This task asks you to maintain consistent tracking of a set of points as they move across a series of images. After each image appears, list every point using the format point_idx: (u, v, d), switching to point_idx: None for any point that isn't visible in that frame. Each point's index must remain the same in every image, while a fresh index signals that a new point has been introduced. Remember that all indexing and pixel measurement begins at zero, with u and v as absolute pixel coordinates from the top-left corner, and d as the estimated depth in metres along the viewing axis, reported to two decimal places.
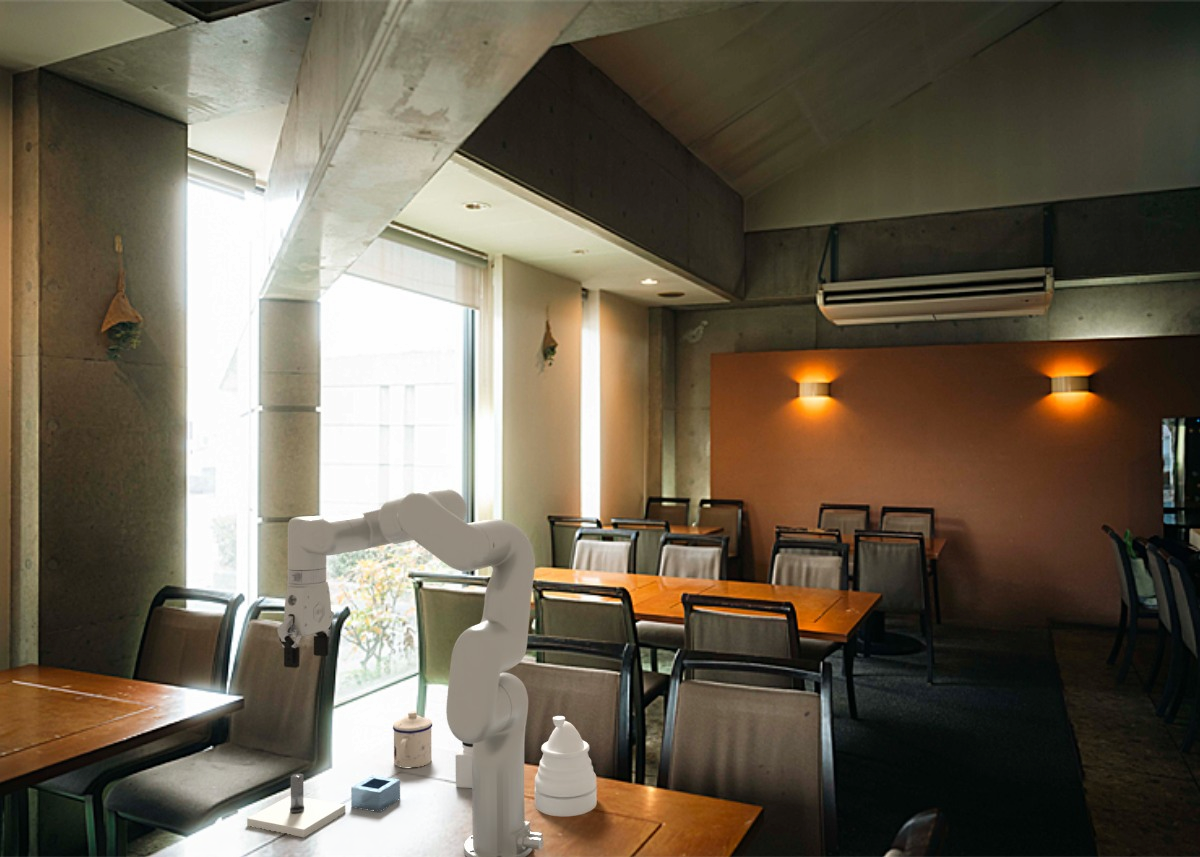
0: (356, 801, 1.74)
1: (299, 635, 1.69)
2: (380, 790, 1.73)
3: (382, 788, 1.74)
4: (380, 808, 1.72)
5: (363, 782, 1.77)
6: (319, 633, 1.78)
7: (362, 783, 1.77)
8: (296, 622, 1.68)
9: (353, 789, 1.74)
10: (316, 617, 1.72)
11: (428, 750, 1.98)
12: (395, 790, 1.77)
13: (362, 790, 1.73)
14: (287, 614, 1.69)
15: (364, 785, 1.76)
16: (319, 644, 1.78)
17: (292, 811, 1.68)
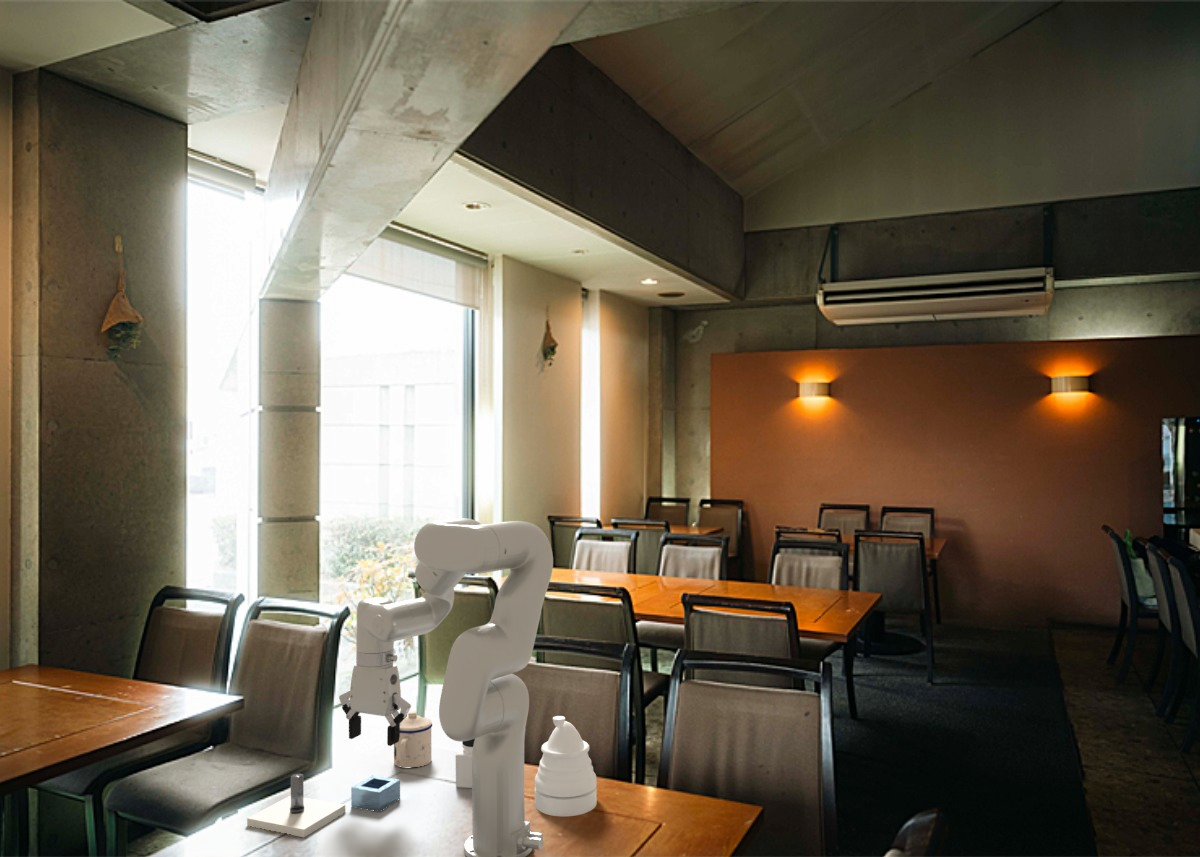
0: (356, 801, 1.74)
1: None
2: (380, 790, 1.73)
3: (382, 788, 1.74)
4: (380, 808, 1.72)
5: (363, 782, 1.77)
6: (354, 715, 1.79)
7: (362, 783, 1.77)
8: None
9: (353, 789, 1.74)
10: None
11: (428, 750, 1.98)
12: (395, 790, 1.77)
13: (362, 790, 1.73)
14: (391, 694, 1.74)
15: (364, 785, 1.76)
16: (356, 725, 1.79)
17: (292, 811, 1.68)
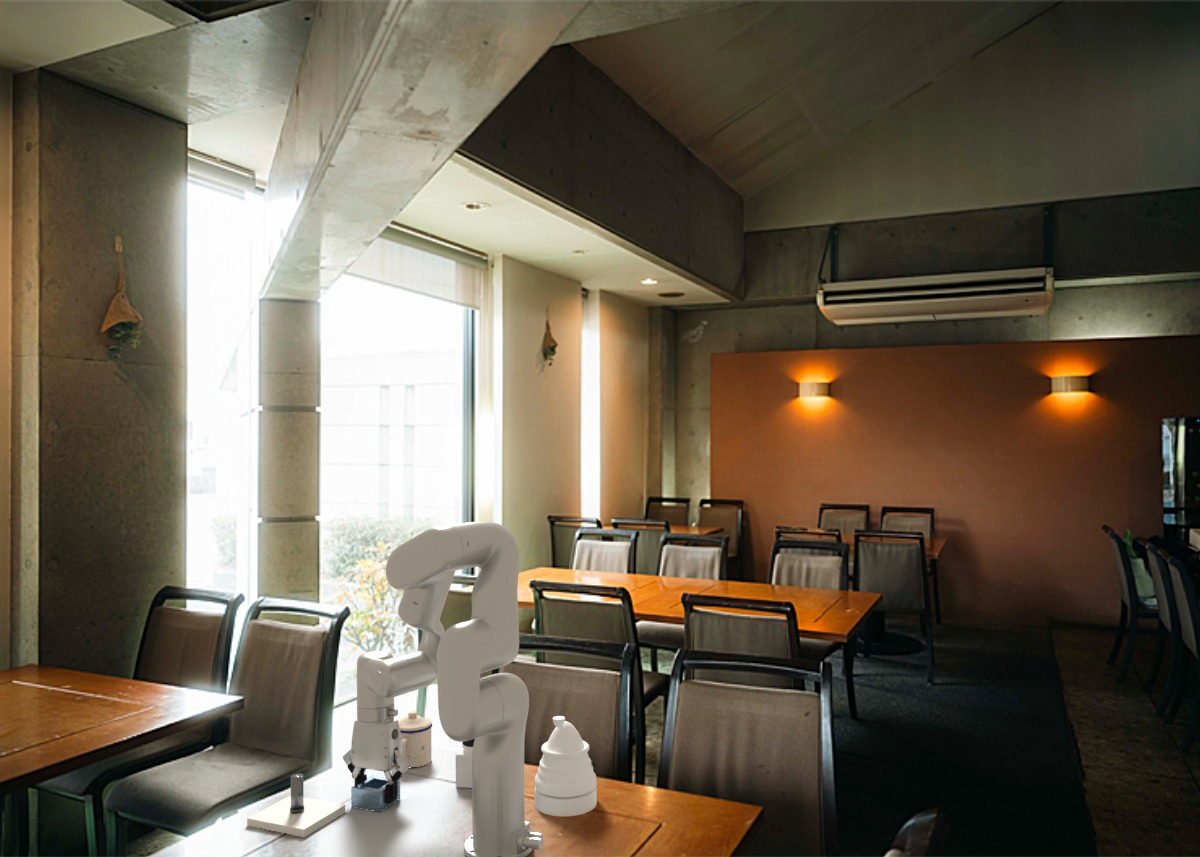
0: (356, 801, 1.74)
1: None
2: (380, 790, 1.73)
3: (382, 788, 1.74)
4: (380, 808, 1.72)
5: (363, 782, 1.77)
6: (360, 773, 1.78)
7: (362, 783, 1.77)
8: (399, 753, 1.76)
9: (353, 789, 1.74)
10: None
11: (428, 750, 1.98)
12: None
13: (362, 790, 1.73)
14: (392, 749, 1.74)
15: (364, 785, 1.76)
16: None
17: (292, 811, 1.68)
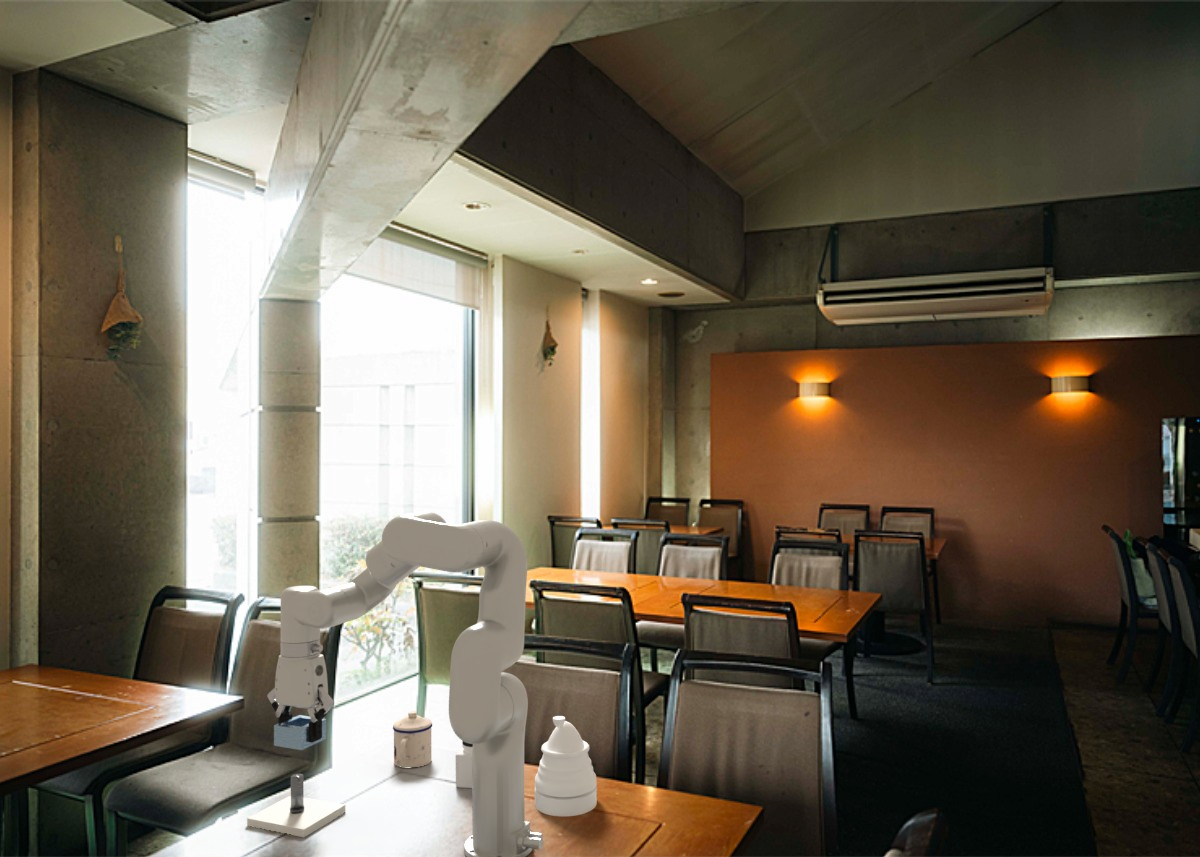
0: (279, 739, 1.67)
1: None
2: (303, 728, 1.66)
3: (306, 726, 1.67)
4: (302, 746, 1.66)
5: (287, 721, 1.71)
6: (284, 712, 1.71)
7: (286, 721, 1.70)
8: (324, 690, 1.69)
9: (276, 727, 1.68)
10: None
11: (428, 750, 1.98)
12: None
13: (285, 728, 1.67)
14: (316, 686, 1.67)
15: (288, 723, 1.70)
16: None
17: (292, 811, 1.68)
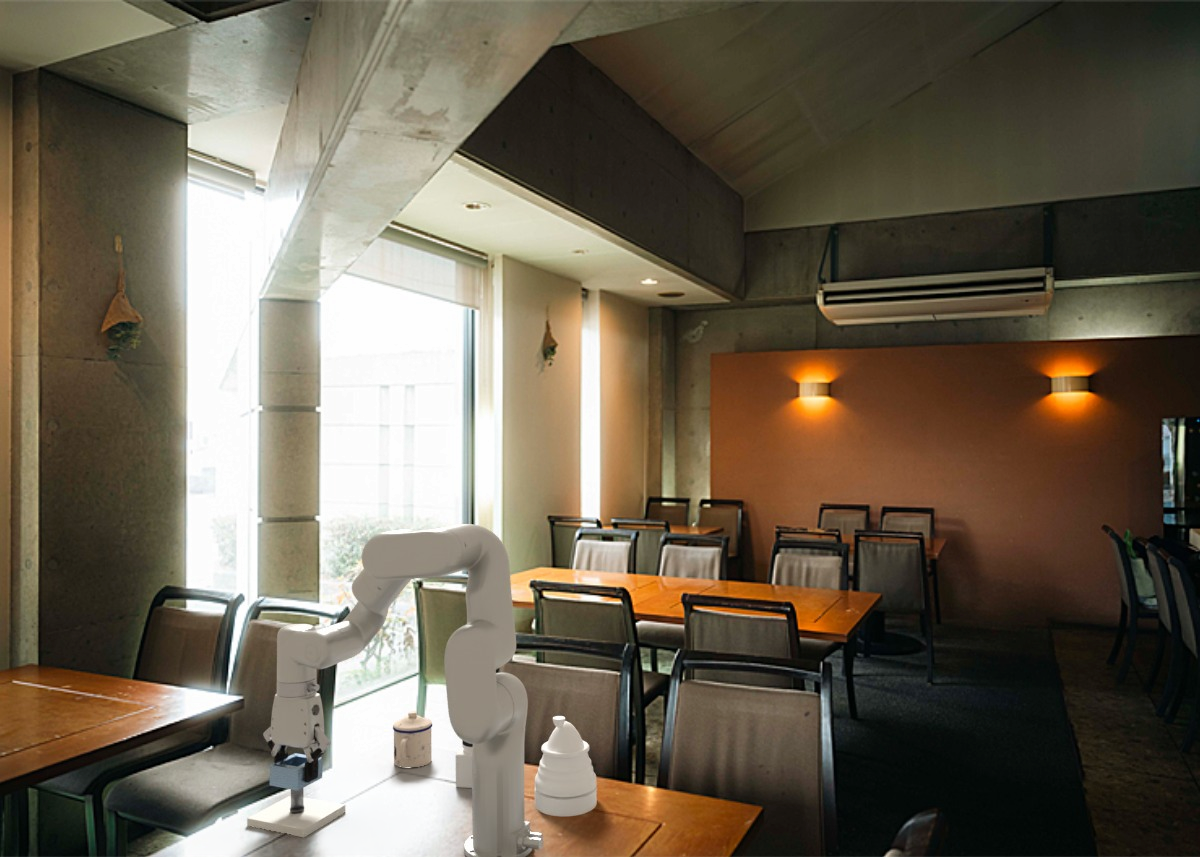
0: (274, 779, 1.67)
1: None
2: (299, 768, 1.66)
3: (302, 766, 1.67)
4: (298, 786, 1.65)
5: (283, 760, 1.70)
6: (280, 751, 1.71)
7: (282, 761, 1.70)
8: (321, 730, 1.69)
9: (272, 767, 1.67)
10: None
11: (428, 750, 1.98)
12: None
13: (281, 767, 1.66)
14: (313, 726, 1.67)
15: (284, 763, 1.69)
16: None
17: (292, 811, 1.68)
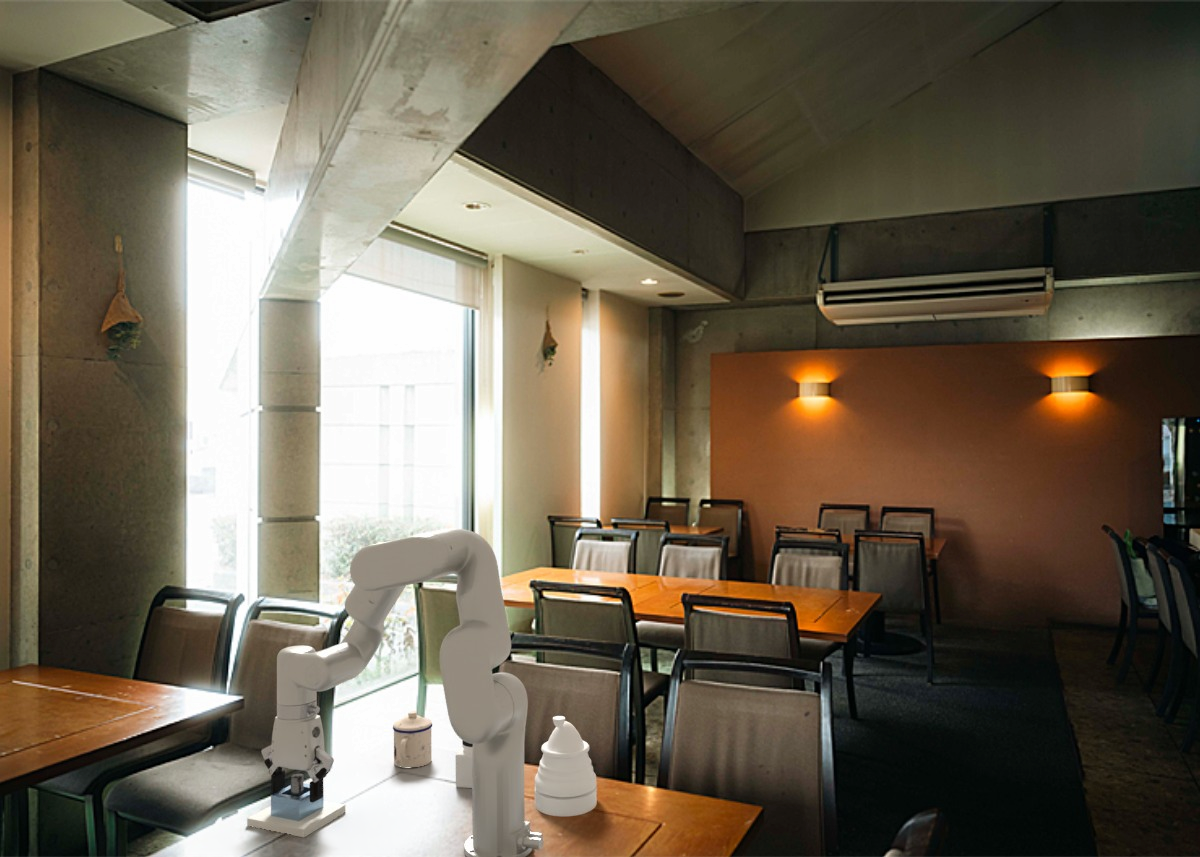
0: (275, 809, 1.67)
1: None
2: (300, 798, 1.66)
3: (303, 796, 1.67)
4: (300, 817, 1.65)
5: (284, 789, 1.70)
6: (277, 770, 1.71)
7: (283, 790, 1.69)
8: None
9: (273, 797, 1.67)
10: None
11: (428, 750, 1.98)
12: None
13: (282, 798, 1.66)
14: (313, 748, 1.67)
15: (285, 793, 1.69)
16: (279, 781, 1.71)
17: None
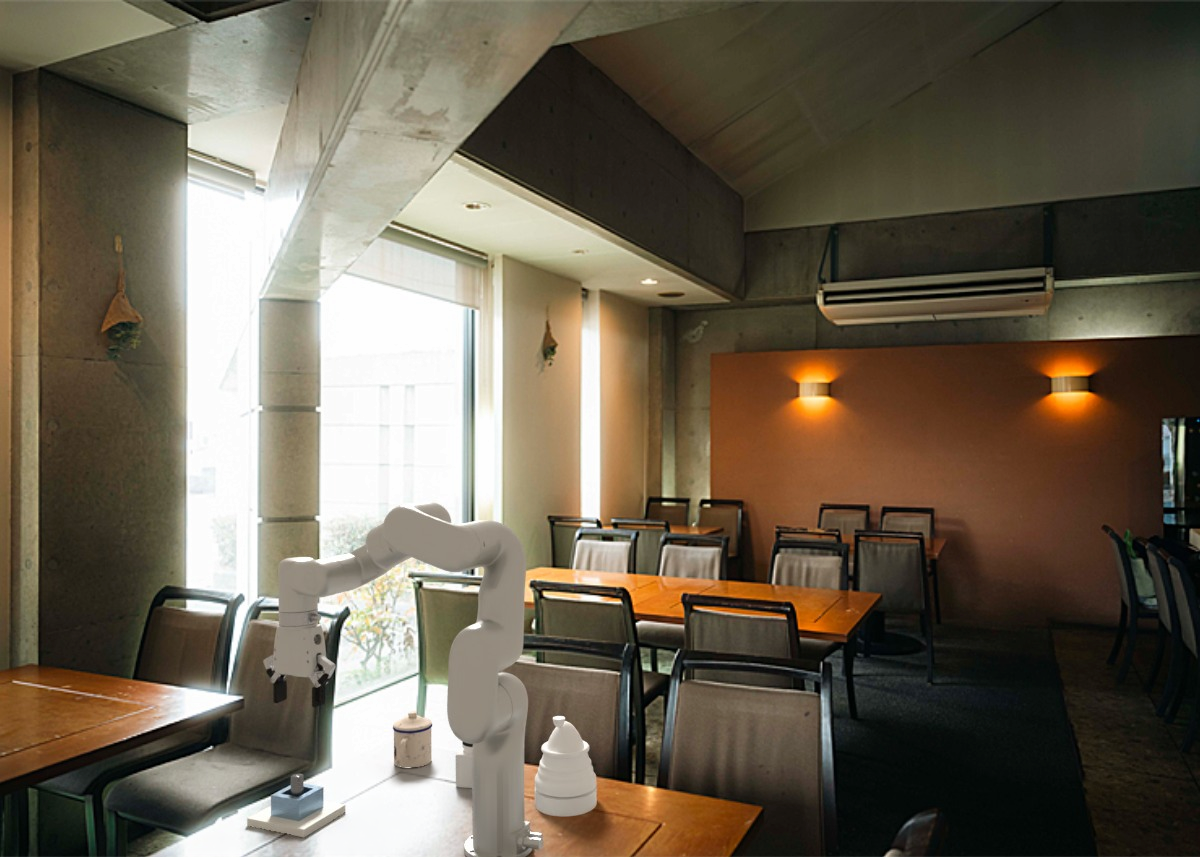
0: (275, 809, 1.67)
1: None
2: (300, 798, 1.66)
3: (303, 796, 1.67)
4: (300, 817, 1.65)
5: (284, 789, 1.70)
6: (279, 679, 1.74)
7: (283, 790, 1.69)
8: None
9: (273, 797, 1.67)
10: None
11: (428, 750, 1.98)
12: (317, 798, 1.69)
13: (282, 798, 1.66)
14: (315, 654, 1.70)
15: (285, 793, 1.69)
16: (281, 689, 1.74)
17: None
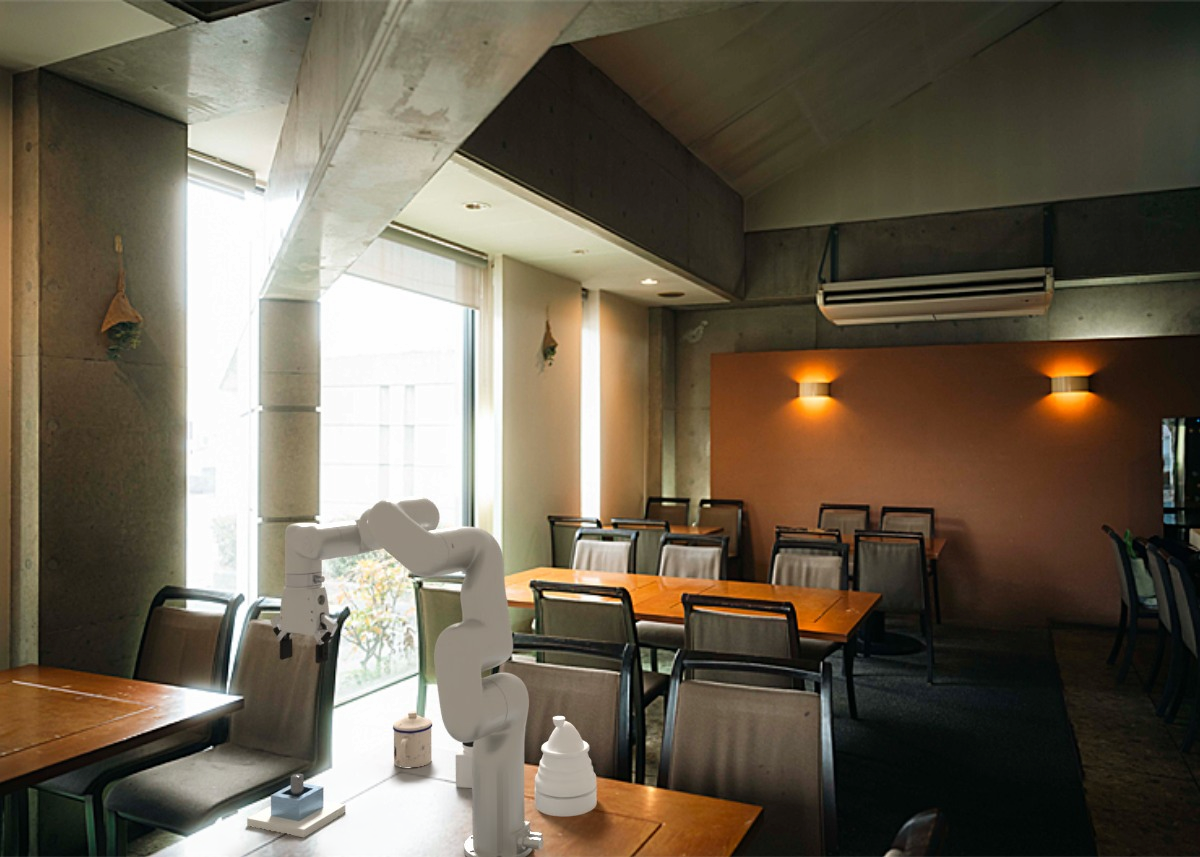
0: (275, 809, 1.67)
1: None
2: (300, 798, 1.66)
3: (303, 796, 1.67)
4: (300, 817, 1.65)
5: (284, 789, 1.70)
6: (285, 637, 1.85)
7: (283, 790, 1.69)
8: None
9: (273, 797, 1.67)
10: None
11: (428, 750, 1.98)
12: (317, 798, 1.69)
13: (282, 798, 1.66)
14: (319, 614, 1.80)
15: (285, 793, 1.69)
16: (287, 647, 1.85)
17: None
